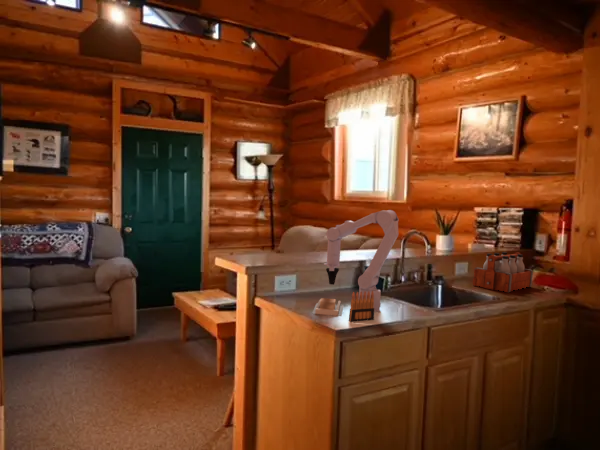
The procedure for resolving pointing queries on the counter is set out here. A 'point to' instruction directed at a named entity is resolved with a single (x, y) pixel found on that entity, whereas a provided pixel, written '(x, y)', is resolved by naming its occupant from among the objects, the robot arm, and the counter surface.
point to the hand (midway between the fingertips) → (331, 284)
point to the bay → (328, 310)
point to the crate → (327, 303)
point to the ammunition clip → (362, 307)
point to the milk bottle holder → (503, 273)
